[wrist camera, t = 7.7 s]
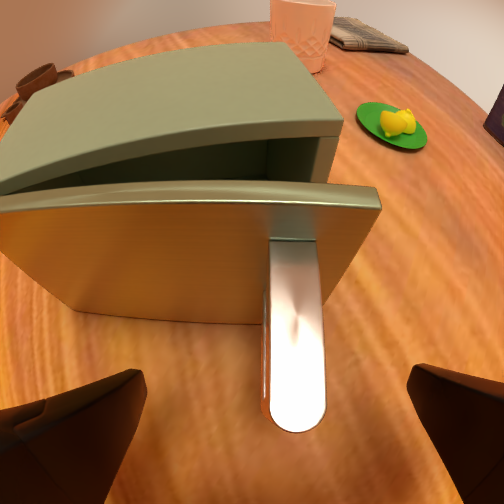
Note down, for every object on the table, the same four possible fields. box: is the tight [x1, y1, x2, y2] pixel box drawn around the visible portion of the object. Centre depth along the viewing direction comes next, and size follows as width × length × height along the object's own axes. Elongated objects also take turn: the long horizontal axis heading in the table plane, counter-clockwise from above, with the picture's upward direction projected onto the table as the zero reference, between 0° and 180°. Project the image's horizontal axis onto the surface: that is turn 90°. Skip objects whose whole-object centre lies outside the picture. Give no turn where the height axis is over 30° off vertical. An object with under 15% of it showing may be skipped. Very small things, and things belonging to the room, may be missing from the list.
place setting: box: [1, 63, 74, 126], centre depth 27 cm, size 18×20×6 cm
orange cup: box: [270, 0, 336, 74], centre depth 28 cm, size 8×8×10 cm
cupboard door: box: [0, 180, 382, 433], centre depth 10 cm, size 6×15×10 cm, turn 89°
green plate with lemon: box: [357, 102, 427, 149], centre depth 25 cm, size 8×8×3 cm
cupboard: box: [0, 42, 344, 196], centre depth 15 cm, size 8×15×11 cm, turn 99°
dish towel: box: [329, 17, 409, 53], centre depth 41 cm, size 19×18×3 cm
